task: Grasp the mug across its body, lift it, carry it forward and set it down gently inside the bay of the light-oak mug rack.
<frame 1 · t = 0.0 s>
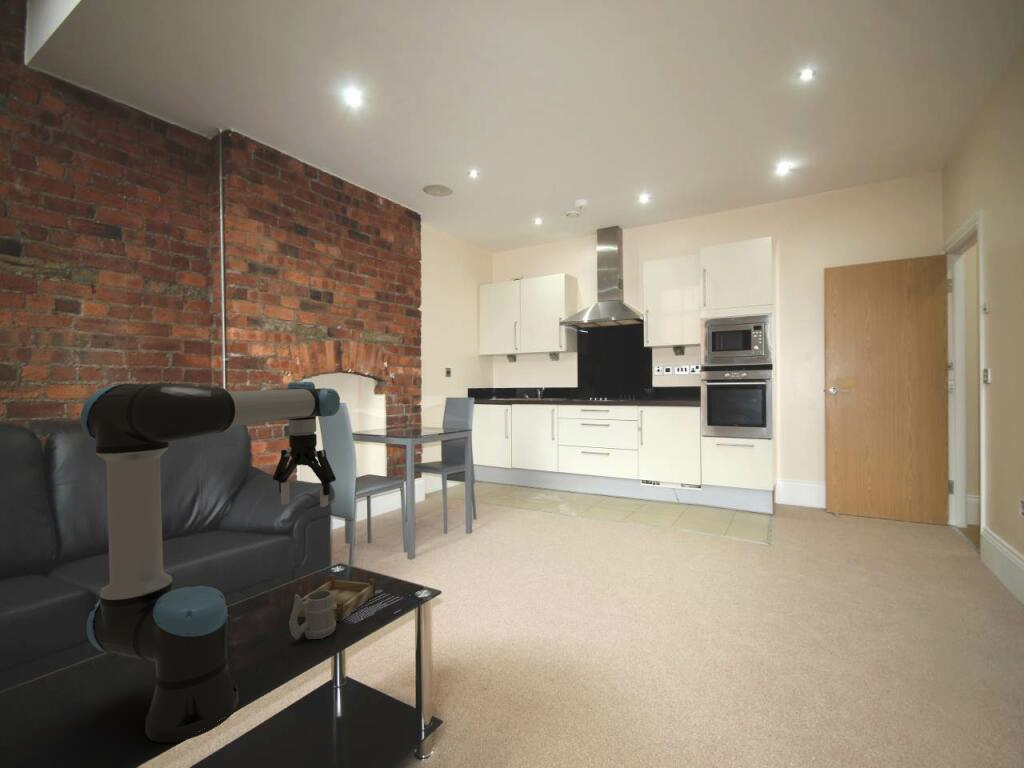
hand: (304, 505, 147), 28 cm above the table, fingers open, 13 cm apart
rack: (336, 605, 142), on the table
mug: (313, 637, 125), on the table
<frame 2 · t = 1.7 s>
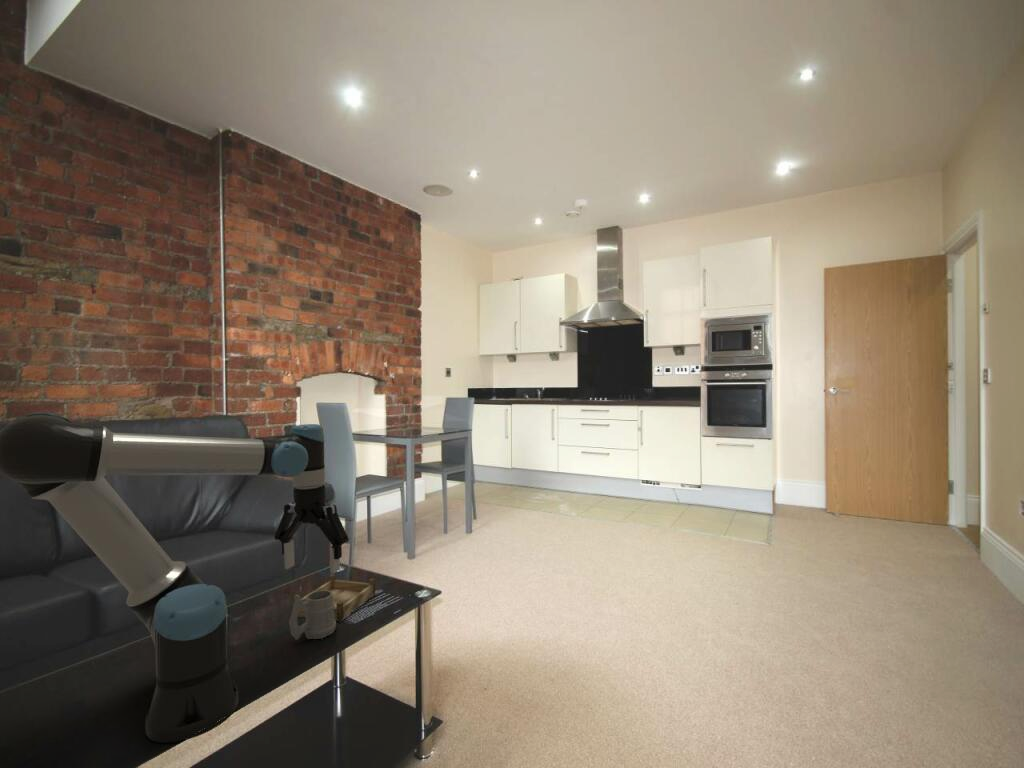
hand: (312, 569, 125), 17 cm above the table, fingers open, 13 cm apart
nothing on the table moved.
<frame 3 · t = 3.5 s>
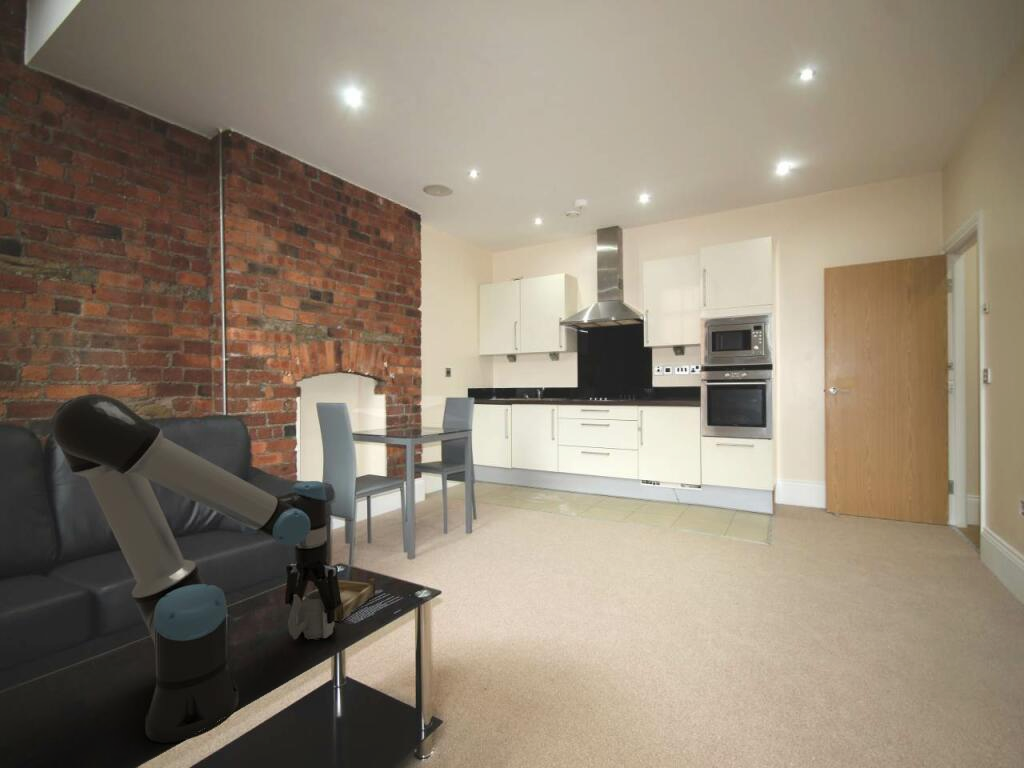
hand: (314, 633, 125), 1 cm above the table, fingers closed on mug, 8 cm apart
mug: (311, 637, 125), on the table, touching gripper
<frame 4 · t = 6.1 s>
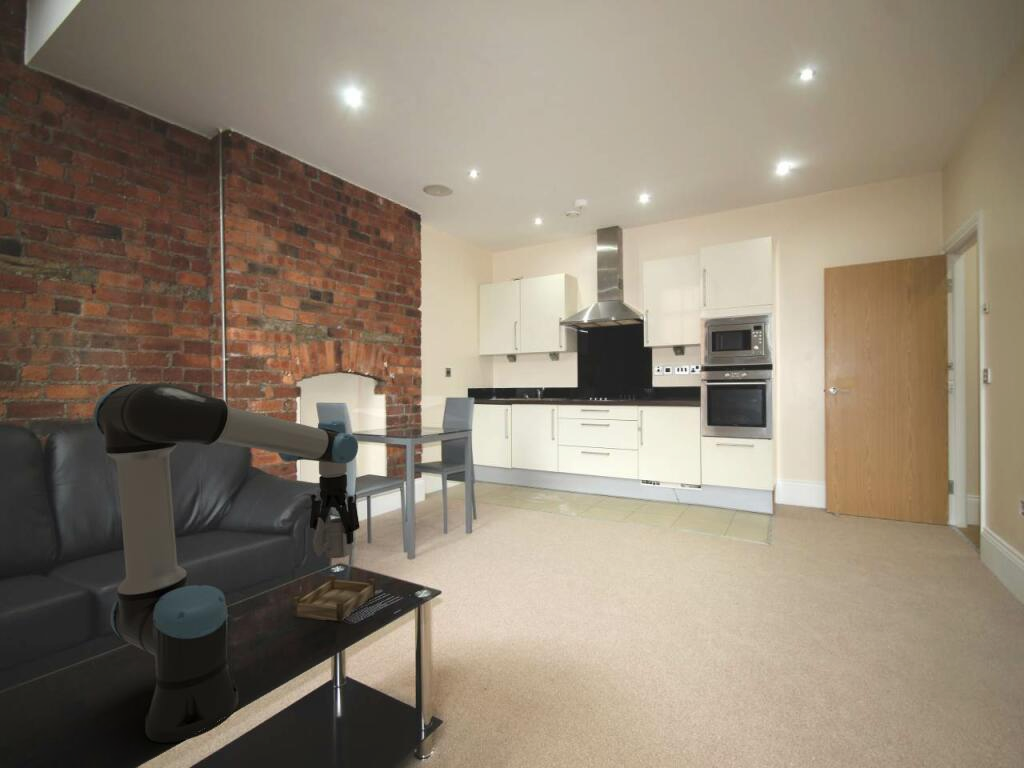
hand: (335, 553, 142), 15 cm above the table, fingers closed on mug, 8 cm apart
mug: (333, 556, 142), point 14 cm above the table, touching gripper
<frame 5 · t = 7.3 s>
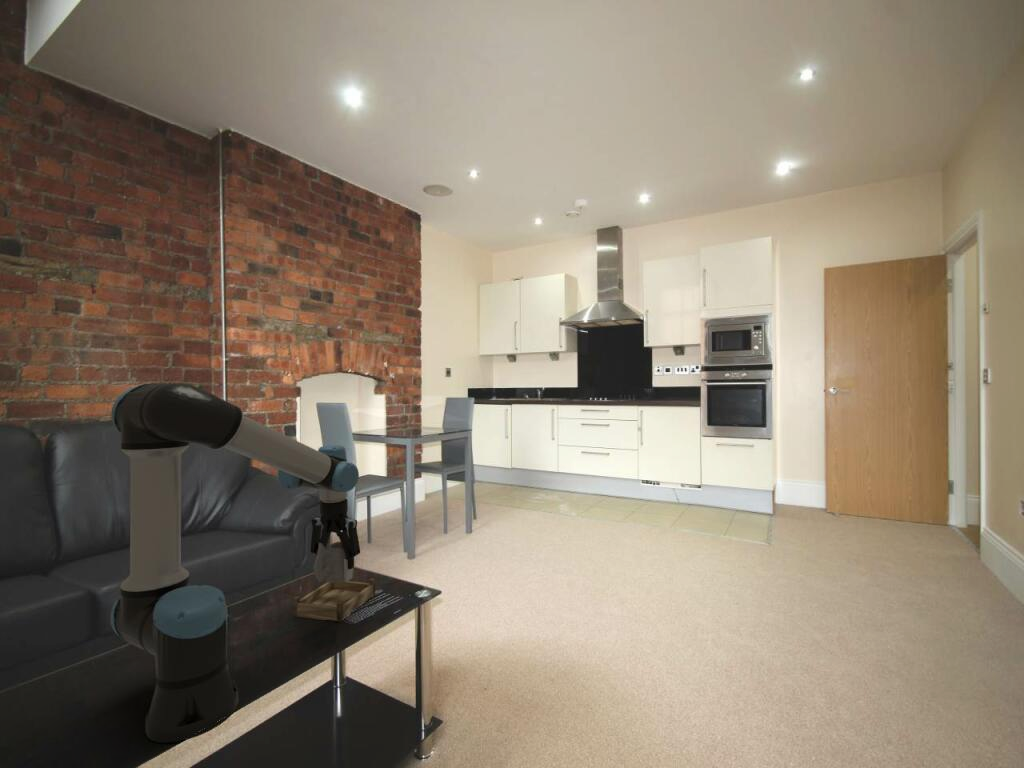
hand: (335, 578, 142), 8 cm above the table, fingers closed on mug, 8 cm apart
mug: (333, 581, 142), point 7 cm above the table, touching gripper
when the fingers open (4 cm above the table, at t = 8.4 s): mug drops 2 cm, resting on rack.
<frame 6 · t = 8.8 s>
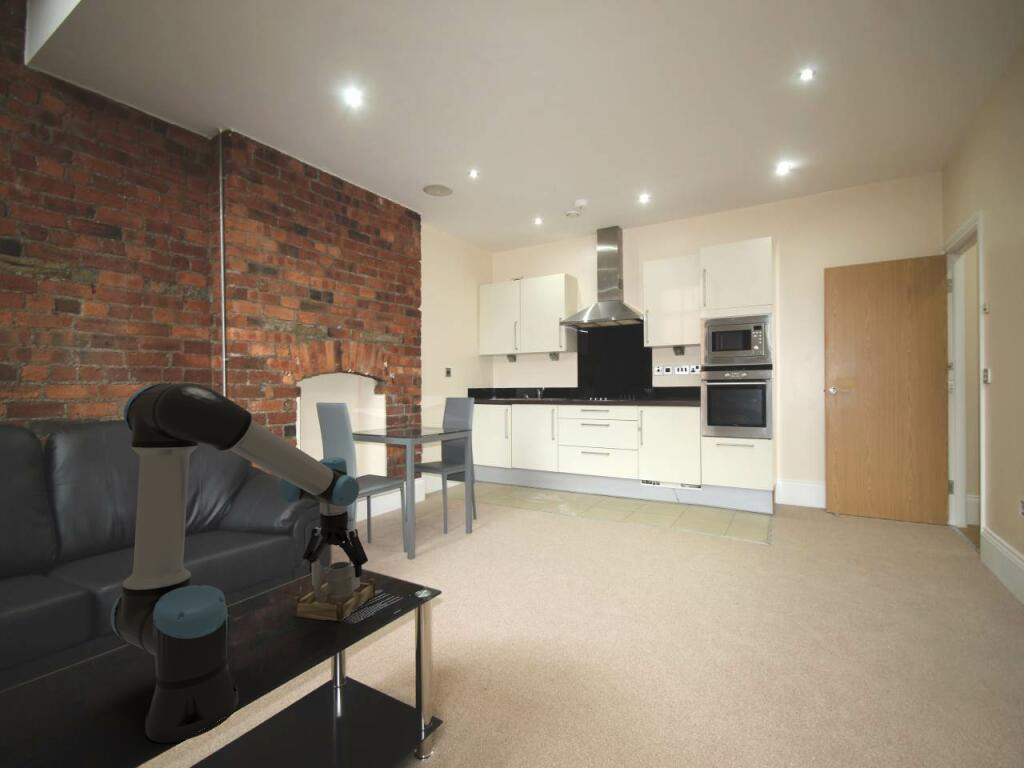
hand: (335, 586, 142), 6 cm above the table, fingers open, 13 cm apart
mug: (333, 602, 142), point 1 cm above the table, touching rack
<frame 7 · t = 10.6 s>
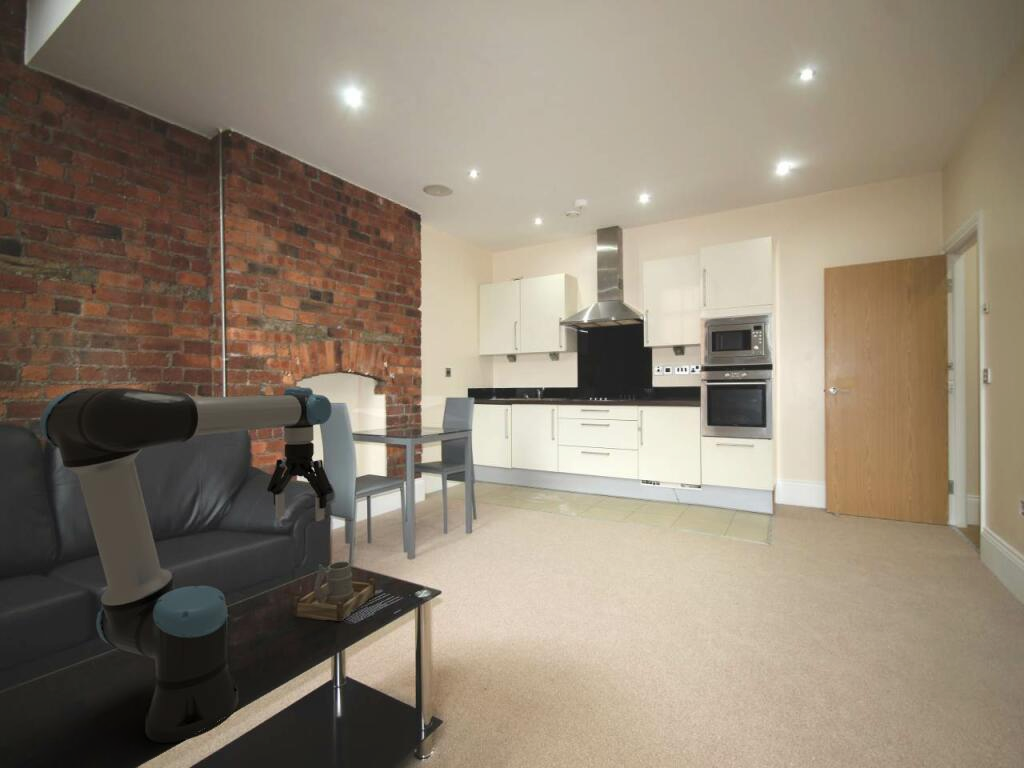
hand: (299, 518, 138), 26 cm above the table, fingers open, 13 cm apart
nothing on the table moved.
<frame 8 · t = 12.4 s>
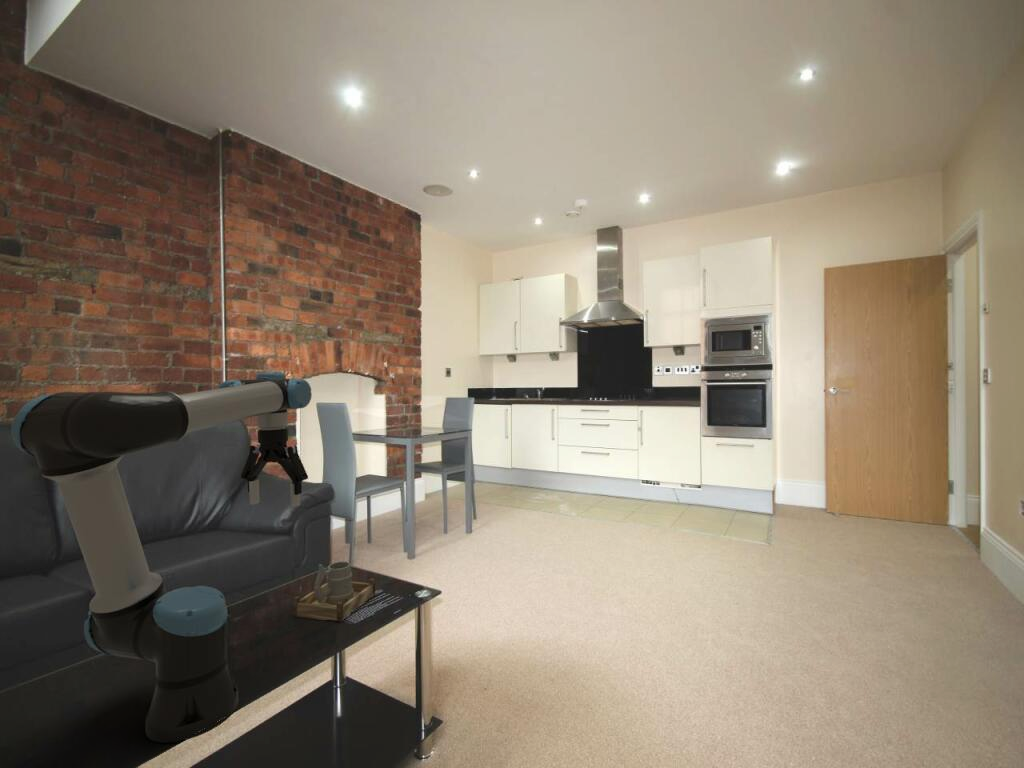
hand: (274, 505, 136), 31 cm above the table, fingers open, 13 cm apart
nothing on the table moved.
at the end: mug inside the target area on the rack (0.7 cm from its centre), point 0.9 cm above the rack's base; mug tilted 0°; mug touching rack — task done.
